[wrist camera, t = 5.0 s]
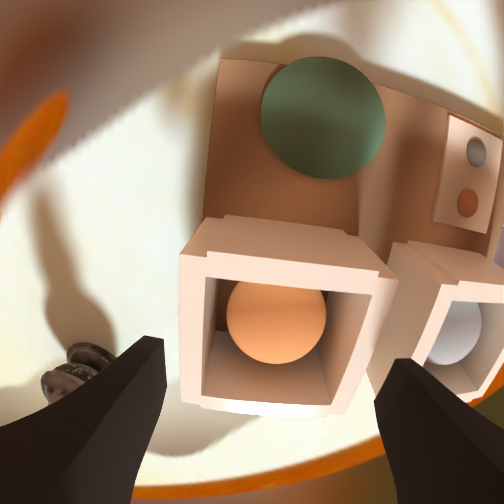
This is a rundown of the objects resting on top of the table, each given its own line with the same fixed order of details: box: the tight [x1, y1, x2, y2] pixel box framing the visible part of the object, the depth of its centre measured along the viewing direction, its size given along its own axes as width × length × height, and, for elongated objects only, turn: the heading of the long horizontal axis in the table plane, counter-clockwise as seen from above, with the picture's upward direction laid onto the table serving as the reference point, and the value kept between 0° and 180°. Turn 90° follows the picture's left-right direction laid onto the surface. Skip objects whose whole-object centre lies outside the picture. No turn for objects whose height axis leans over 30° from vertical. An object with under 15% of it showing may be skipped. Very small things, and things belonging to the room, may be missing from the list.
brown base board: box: [202, 57, 504, 332], centre depth 13 cm, size 16×14×2 cm
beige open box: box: [179, 215, 399, 417], centre depth 12 cm, size 7×7×4 cm
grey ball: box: [425, 301, 482, 365], centre depth 12 cm, size 4×4×4 cm
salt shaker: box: [41, 343, 116, 406], centre depth 12 cm, size 6×6×12 cm
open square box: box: [366, 240, 504, 403], centre depth 12 cm, size 7×7×4 cm
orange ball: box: [226, 281, 326, 364], centre depth 12 cm, size 4×4×4 cm
